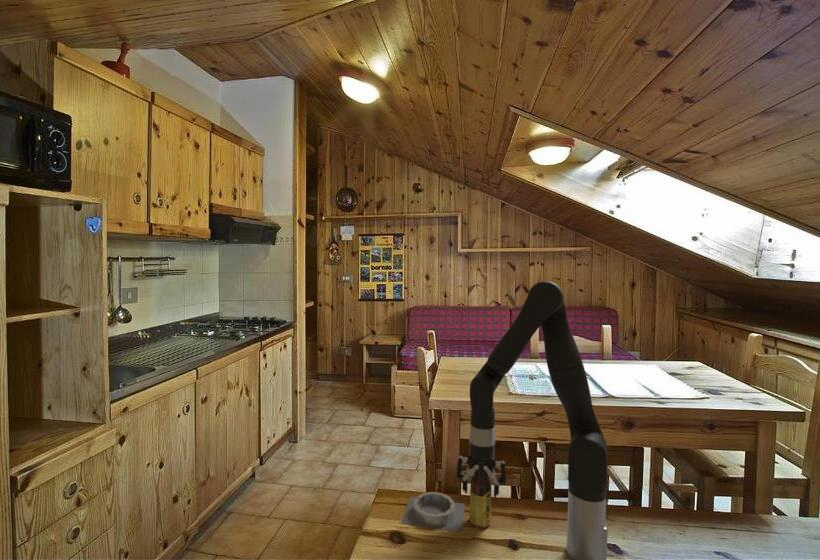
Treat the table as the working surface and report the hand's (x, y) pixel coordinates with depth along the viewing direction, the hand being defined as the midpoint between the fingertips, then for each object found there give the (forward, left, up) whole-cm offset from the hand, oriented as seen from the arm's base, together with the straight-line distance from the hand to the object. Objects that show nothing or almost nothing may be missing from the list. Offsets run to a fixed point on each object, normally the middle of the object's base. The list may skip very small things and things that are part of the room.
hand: (480, 493), depth 117 cm
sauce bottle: (0, 0, -10) cm, 10 cm away
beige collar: (+14, -1, -9) cm, 16 cm away
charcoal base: (+14, -1, -10) cm, 17 cm away
